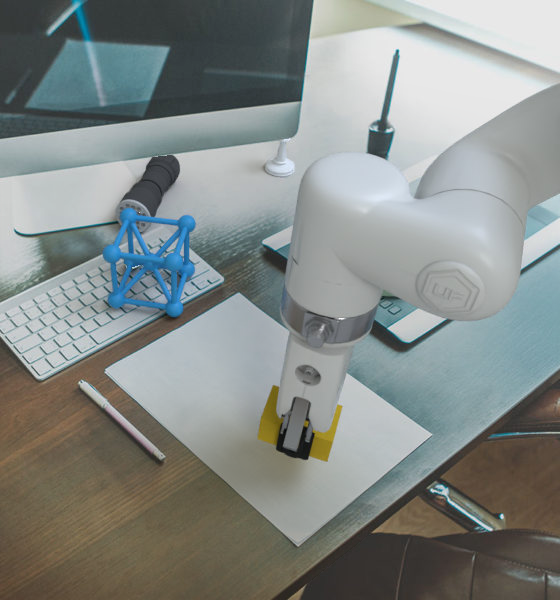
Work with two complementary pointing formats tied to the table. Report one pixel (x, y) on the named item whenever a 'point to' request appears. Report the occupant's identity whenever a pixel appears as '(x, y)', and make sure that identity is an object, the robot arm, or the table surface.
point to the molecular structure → (151, 261)
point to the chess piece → (280, 162)
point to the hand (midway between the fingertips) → (299, 431)
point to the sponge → (321, 440)
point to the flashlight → (150, 189)
